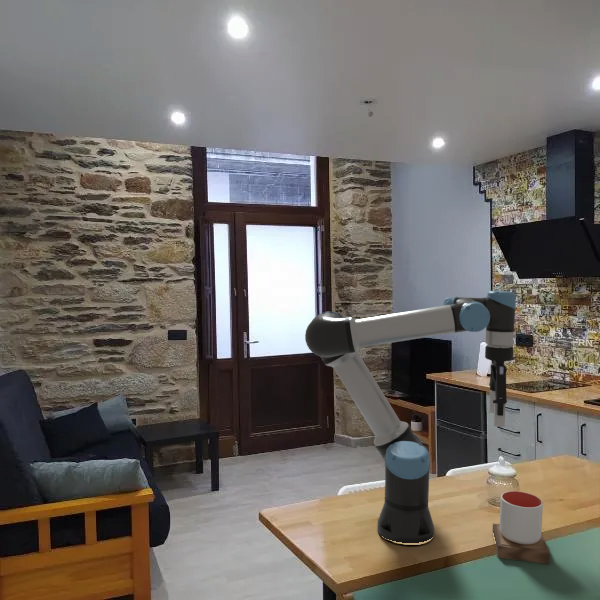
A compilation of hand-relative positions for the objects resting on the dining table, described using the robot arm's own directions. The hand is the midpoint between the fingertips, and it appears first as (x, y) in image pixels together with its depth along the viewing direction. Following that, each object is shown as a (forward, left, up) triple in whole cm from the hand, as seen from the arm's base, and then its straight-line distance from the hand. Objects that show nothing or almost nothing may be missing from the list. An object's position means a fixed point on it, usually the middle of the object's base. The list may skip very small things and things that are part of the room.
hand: (496, 419), depth 159 cm
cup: (+5, -17, -26) cm, 31 cm away
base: (+5, -17, -29) cm, 34 cm away
